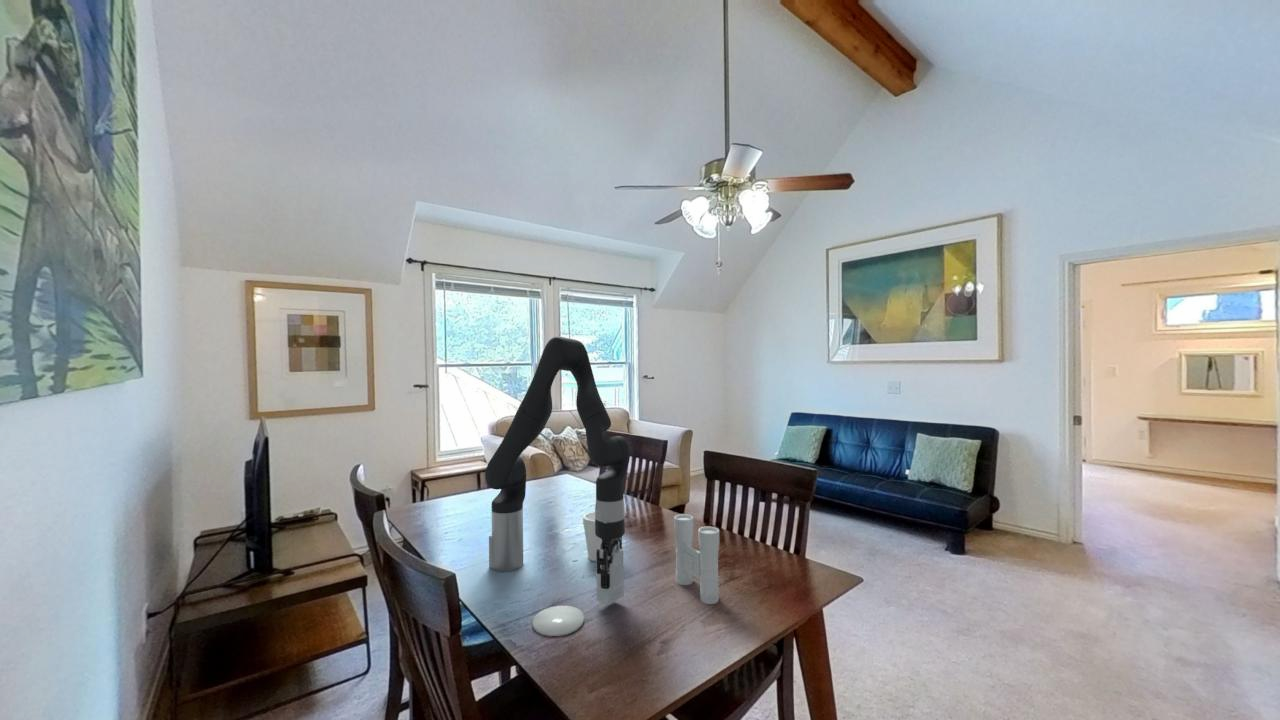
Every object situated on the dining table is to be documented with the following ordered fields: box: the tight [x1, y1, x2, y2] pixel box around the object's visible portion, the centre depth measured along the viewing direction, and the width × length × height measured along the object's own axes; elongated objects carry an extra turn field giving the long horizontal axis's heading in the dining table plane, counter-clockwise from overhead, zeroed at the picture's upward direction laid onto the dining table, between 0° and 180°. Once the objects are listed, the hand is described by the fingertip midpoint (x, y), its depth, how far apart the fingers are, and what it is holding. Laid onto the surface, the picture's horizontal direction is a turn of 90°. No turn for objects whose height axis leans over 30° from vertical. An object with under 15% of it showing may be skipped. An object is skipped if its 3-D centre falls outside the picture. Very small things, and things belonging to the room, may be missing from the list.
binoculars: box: [673, 513, 720, 605], centre depth 128 cm, size 17×5×18 cm, turn 28°
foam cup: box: [582, 511, 602, 562], centre depth 150 cm, size 10×9×13 cm
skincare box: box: [595, 548, 625, 606], centre depth 120 cm, size 6×4×12 cm
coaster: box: [532, 605, 585, 637], centre depth 113 cm, size 12×12×1 cm
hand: (610, 581), depth 120 cm, fingers closed on skincare box, 7 cm apart
